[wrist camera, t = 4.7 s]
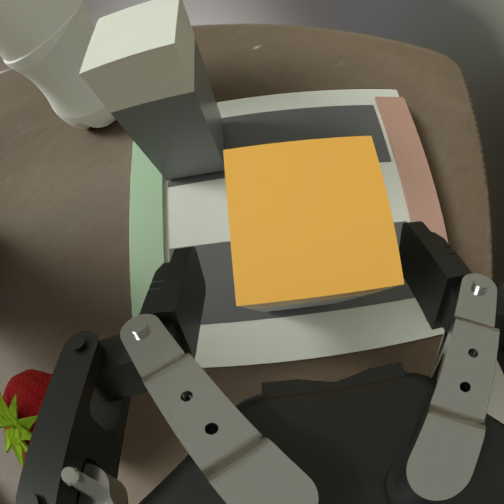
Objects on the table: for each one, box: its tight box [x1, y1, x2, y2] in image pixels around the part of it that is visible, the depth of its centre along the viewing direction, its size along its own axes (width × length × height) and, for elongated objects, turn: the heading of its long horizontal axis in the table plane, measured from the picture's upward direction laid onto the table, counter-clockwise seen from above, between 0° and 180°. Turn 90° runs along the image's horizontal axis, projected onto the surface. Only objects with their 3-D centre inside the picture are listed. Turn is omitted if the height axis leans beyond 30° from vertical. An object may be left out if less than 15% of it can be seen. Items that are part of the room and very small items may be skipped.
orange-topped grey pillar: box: [223, 136, 404, 312], centre depth 13 cm, size 4×4×11 cm
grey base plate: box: [79, 0, 448, 368], centre depth 15 cm, size 20×18×13 cm
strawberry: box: [0, 369, 52, 468], centre depth 15 cm, size 6×8×10 cm
